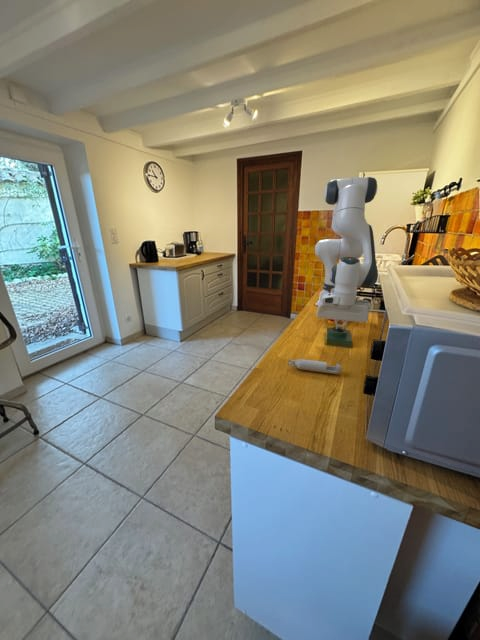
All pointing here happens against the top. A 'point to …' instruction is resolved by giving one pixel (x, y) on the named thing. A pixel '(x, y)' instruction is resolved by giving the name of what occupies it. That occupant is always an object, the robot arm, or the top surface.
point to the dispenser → (338, 337)
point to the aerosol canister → (315, 366)
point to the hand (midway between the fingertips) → (339, 329)
